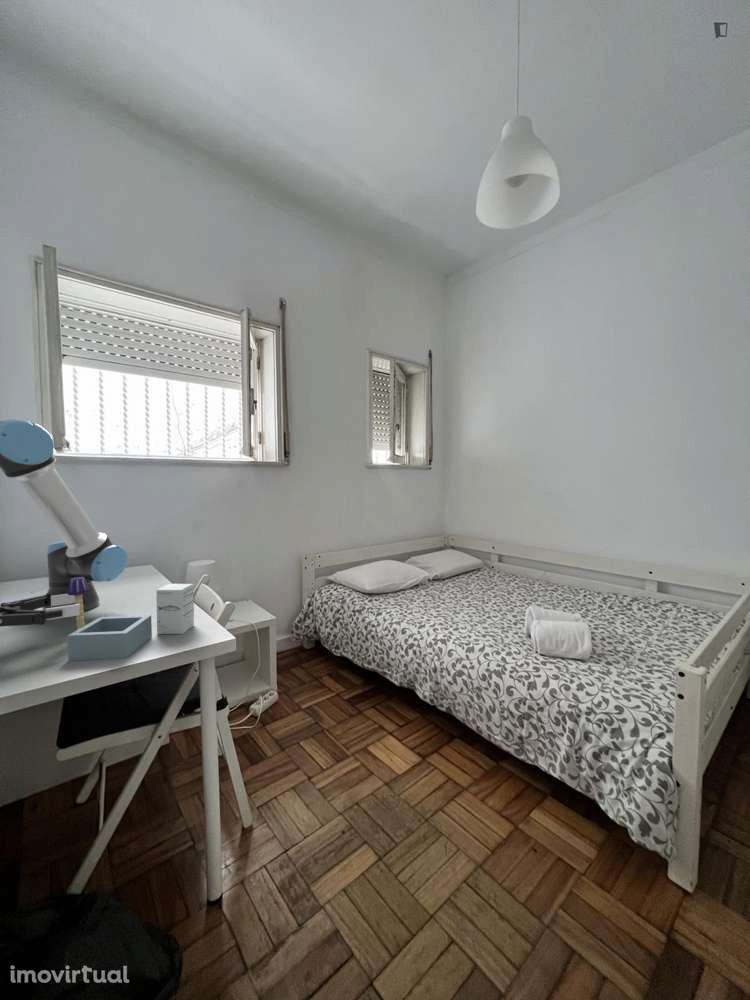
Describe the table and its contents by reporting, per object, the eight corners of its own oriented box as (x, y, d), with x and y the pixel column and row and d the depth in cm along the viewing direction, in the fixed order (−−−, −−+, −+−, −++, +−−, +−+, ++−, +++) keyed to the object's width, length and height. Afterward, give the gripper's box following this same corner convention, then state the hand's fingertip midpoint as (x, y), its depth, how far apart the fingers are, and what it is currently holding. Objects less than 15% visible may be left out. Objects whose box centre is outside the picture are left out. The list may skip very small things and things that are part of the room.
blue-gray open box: (100, 639, 104) (100, 617, 104) (151, 636, 106) (151, 615, 106) (68, 660, 91) (67, 635, 91) (126, 657, 93) (126, 633, 93)
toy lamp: (70, 644, 101) (68, 580, 100) (67, 639, 104) (65, 578, 104) (92, 639, 104) (91, 577, 104) (88, 634, 108) (87, 574, 107)
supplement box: (155, 634, 107) (154, 589, 107) (170, 625, 115) (169, 582, 114) (182, 634, 107) (181, 589, 107) (195, 625, 115) (194, 582, 114)
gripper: (-20, 619, 102) (81, 605, 114) (-48, 653, 81) (79, 630, 94) (-21, 591, 101) (81, 579, 114) (-50, 617, 81) (78, 600, 94)
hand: (80, 602), depth 104 cm, fingers open, 13 cm apart
